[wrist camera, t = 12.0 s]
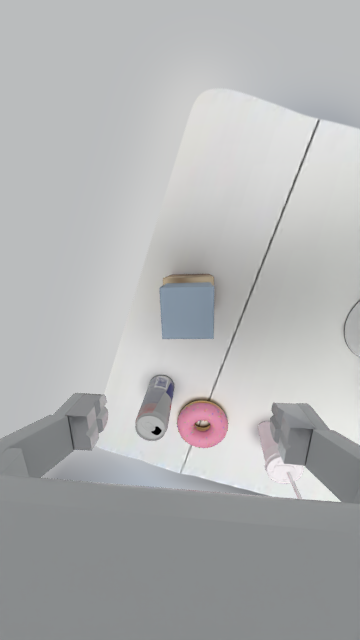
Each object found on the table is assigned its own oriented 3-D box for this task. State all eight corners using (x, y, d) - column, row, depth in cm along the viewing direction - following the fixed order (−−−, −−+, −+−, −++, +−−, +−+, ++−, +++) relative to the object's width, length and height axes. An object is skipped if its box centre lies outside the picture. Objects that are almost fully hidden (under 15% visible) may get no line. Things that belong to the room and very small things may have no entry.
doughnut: (218, 442, 47) (220, 458, 43) (172, 430, 47) (170, 445, 43) (233, 403, 44) (236, 417, 40) (184, 391, 44) (183, 403, 40)
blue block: (210, 282, 28) (214, 286, 22) (209, 324, 29) (213, 338, 23) (166, 283, 28) (159, 287, 22) (168, 324, 30) (162, 338, 24)
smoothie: (271, 443, 46) (303, 518, 32) (246, 433, 46) (268, 503, 32) (286, 422, 44) (327, 492, 31) (260, 411, 44) (290, 476, 30)
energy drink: (164, 400, 45) (154, 447, 33) (145, 386, 44) (127, 429, 33) (179, 384, 44) (173, 427, 32) (159, 369, 43) (146, 408, 31)
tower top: (211, 275, 32) (213, 277, 27) (210, 317, 34) (213, 326, 29) (167, 276, 33) (162, 278, 28) (169, 318, 35) (165, 326, 30)
